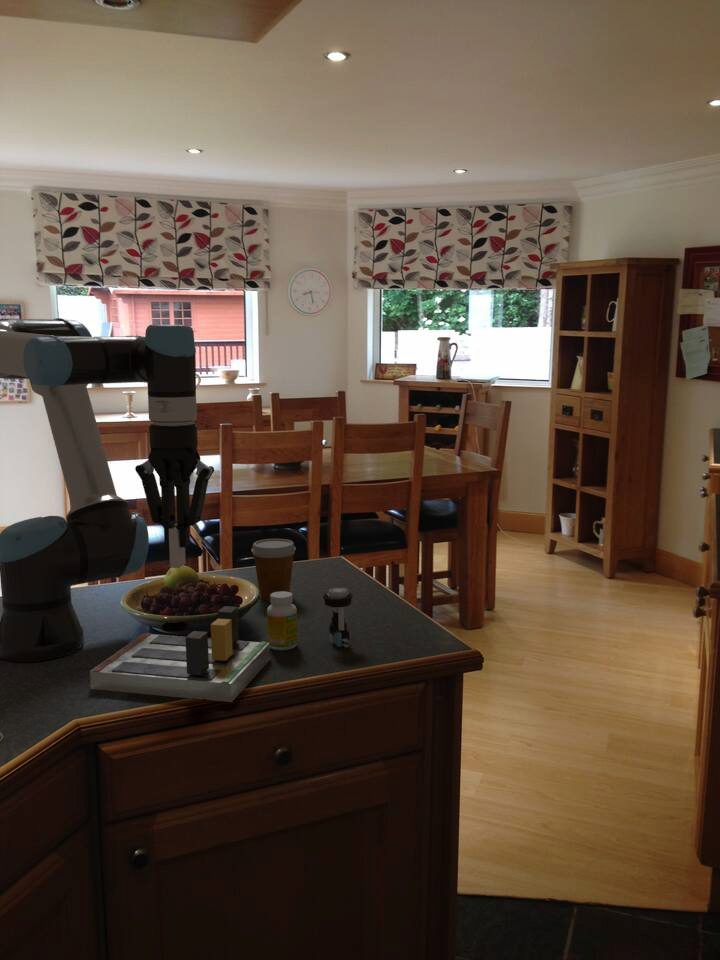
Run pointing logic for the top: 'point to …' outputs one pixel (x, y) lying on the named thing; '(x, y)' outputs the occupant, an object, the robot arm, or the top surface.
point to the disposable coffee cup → (273, 565)
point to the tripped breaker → (221, 639)
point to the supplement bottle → (282, 621)
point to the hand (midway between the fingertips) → (177, 565)
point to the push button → (338, 615)
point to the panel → (182, 665)
